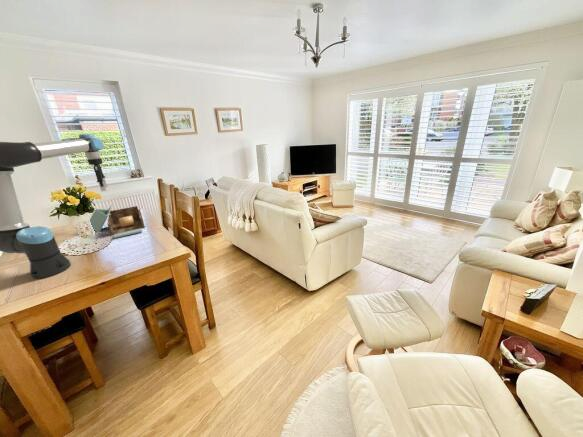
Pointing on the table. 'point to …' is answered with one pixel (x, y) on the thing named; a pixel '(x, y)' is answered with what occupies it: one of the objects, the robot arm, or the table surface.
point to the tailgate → (127, 233)
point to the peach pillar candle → (126, 221)
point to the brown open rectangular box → (116, 214)
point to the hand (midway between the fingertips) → (104, 189)
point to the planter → (99, 218)
